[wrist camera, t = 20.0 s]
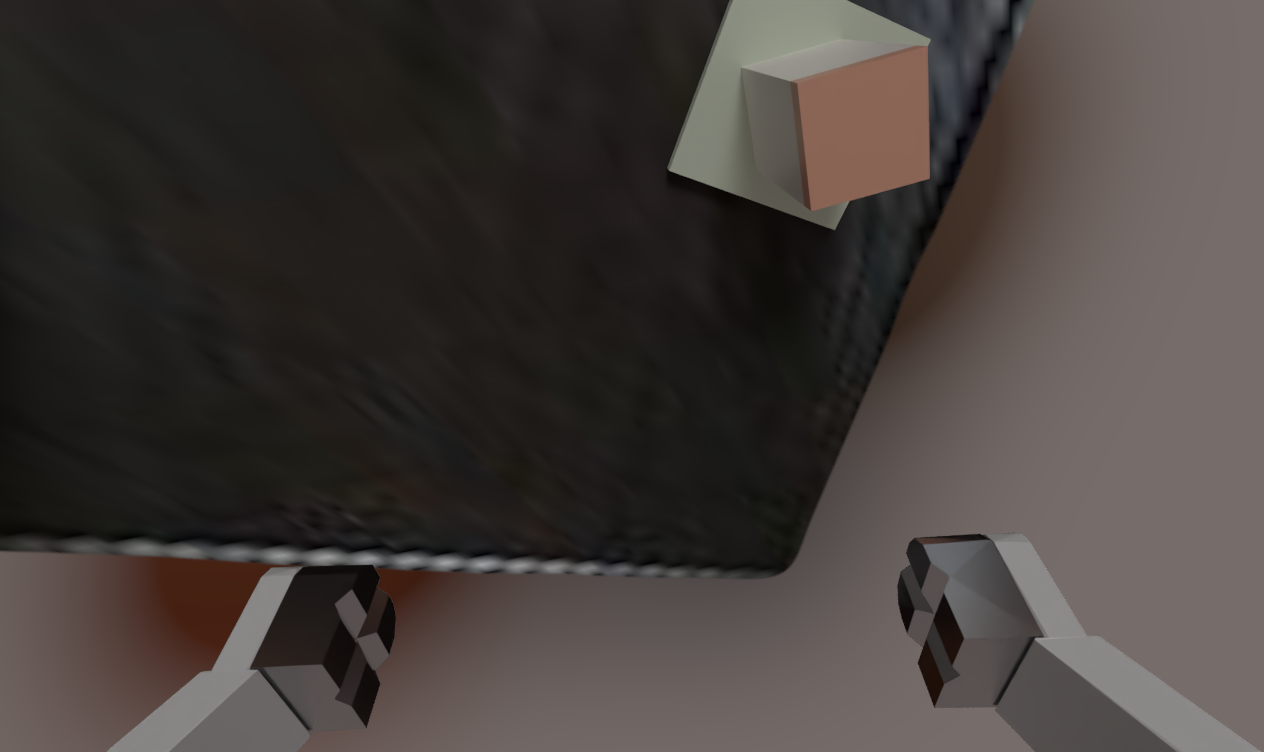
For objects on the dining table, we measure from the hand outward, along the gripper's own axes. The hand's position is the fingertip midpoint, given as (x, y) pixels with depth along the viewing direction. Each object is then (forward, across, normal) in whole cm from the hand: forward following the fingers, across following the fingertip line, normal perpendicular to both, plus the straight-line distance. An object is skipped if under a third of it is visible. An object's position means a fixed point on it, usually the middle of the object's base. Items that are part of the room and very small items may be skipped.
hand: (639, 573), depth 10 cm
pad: (+36, -10, +3) cm, 37 cm away
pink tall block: (+35, -10, +3) cm, 36 cm away
